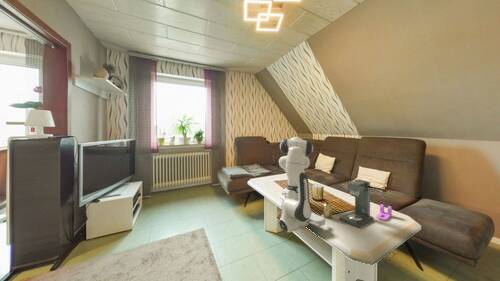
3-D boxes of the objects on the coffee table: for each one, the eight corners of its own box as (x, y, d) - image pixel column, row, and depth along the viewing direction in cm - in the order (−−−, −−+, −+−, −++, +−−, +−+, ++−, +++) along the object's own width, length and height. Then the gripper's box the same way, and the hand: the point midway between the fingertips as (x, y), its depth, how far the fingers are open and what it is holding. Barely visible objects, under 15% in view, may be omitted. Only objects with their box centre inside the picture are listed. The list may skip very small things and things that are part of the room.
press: (373, 234, 97) (373, 191, 96) (339, 219, 114) (339, 182, 113) (387, 225, 106) (387, 185, 105) (354, 213, 123) (354, 178, 122)
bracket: (381, 213, 122) (381, 203, 122) (391, 216, 118) (391, 206, 117) (375, 218, 114) (375, 208, 114) (385, 222, 110) (385, 211, 110)
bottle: (322, 215, 120) (321, 201, 119) (327, 214, 121) (327, 200, 121) (327, 219, 115) (327, 204, 114) (333, 217, 117) (333, 203, 116)
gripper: (316, 221, 96) (331, 214, 103) (290, 207, 114) (305, 203, 121) (316, 231, 97) (331, 224, 104) (290, 217, 114) (305, 211, 121)
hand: (317, 213), depth 112 cm, fingers open, 8 cm apart
